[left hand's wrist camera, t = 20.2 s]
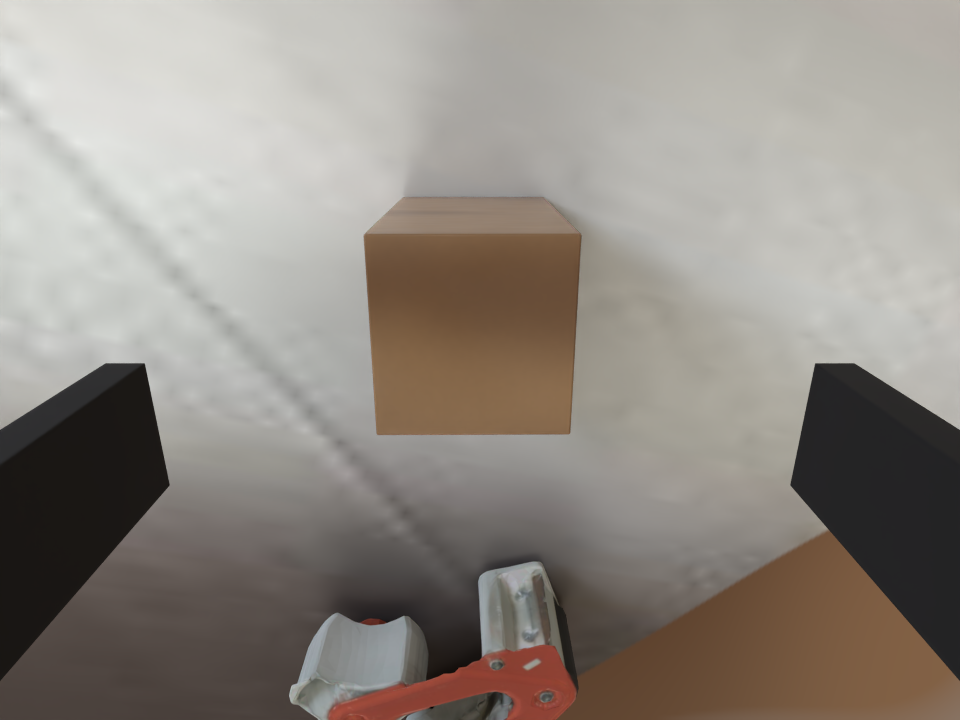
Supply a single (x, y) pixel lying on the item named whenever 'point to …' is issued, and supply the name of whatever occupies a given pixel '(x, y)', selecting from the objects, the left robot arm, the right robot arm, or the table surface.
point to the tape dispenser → (470, 690)
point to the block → (472, 316)
